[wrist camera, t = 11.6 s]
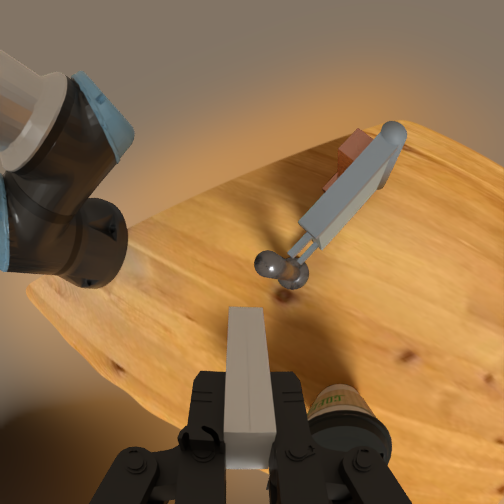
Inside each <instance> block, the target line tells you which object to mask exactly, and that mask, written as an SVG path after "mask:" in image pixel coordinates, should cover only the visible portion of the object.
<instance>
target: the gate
mask: <svg viewBox="0 0 504 504" xmlns="http://www.w3.org/2000/svg"><path fill="white" fill-rule="evenodd" d="M406 138H407V131H406V129H405V128H404V126H403V125H401V124H400V123H398V122H395V121H389V122H386V123H385V124H384V125H383V126H382V130H381V132H380V133H379V134H378V135H377V136H376V138H375V139H374V140H373V141H372V142H371V143H370V144H369V145H368V146H367V147H366V149H365V150H364V151H363V152H362V153H361V154H360V155H359V156H358V157H357V158H356V159H355V161H354V162H353V163H352V164H351V165H350V166H349V167H348V168H347V169H346V170H345V171H344V173H343V174H342V175H341V176H340V177H339V178H338V179H337V180H336V181H335V182H334V183H333V184H332V186H331V187H330V188H329V189H328V190H327V191H326V192H325V193H324V194H323V195H322V196H321V197H320V198H319V200H318V201H317V202H316V203H315V204H314V205H313V206H312V207H311V208H310V209H309V210H308V211H307V212H306V214H305V215H304V216H303V217H302V218H301V219H300V220H299V221H298V223H299V225H300V226H301V227H302V228H303V229H305V230H306V231H307V232H306V233H305V234H304V235H303V237H302V238H301V239H300V240H299V241H298V242H297V243H296V244H295V245H294V246H293V247H292V248H291V249H290V250H289V251H288V253H287V254H288V255H290V256H291V257H292V258H294V257H295V256H296V255H297V254H298V253H299V252H300V251H301V250H302V249H303V248H304V247H305V246H306V245H307V244H308V242H309V241H310V240H311V239H312V241H313V244H312V245H311V246H310V247H309V248H308V249H307V250H306V251H305V253H304V254H303V255H302V256H301V257H300V258H299V259H298V260H297V262H298V263H299V264H301V265H302V264H303V263H304V262H305V261H306V260H307V258H308V257H309V256H310V255H311V254H312V253H313V252H314V251H315V250H316V249H317V248H318V247H319V248H320V249H321V250H323V249H324V248H325V247H326V246H327V244H328V243H329V242H330V241H331V240H332V239H333V238H334V237H335V236H336V235H337V234H338V232H339V231H340V230H341V229H342V228H343V227H344V226H345V225H346V224H347V222H348V221H349V220H350V219H351V218H352V217H353V216H354V215H355V214H356V212H357V211H358V210H359V209H360V208H361V207H362V206H363V205H364V203H365V202H366V201H367V200H368V199H369V198H370V197H371V195H372V194H373V193H374V192H375V191H376V190H379V189H382V188H383V187H384V185H385V183H386V181H387V179H388V177H389V175H390V173H391V171H392V169H393V167H394V165H395V162H396V160H397V158H398V156H399V154H400V152H401V149H402V147H403V145H404V143H405V141H406Z"/></svg>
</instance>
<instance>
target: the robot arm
mask: <svg viewBox="0 0 504 504" xmlns="http://www.w3.org/2000/svg"><path fill="white" fill-rule="evenodd" d="M133 140H134V129H133V127H132V126H131V124H130V123H129V122H128V121H127V120H126V119H125V118H124V116H123V115H122V114H121V113H120V112H119V111H118V110H117V109H116V107H114V105H113V104H112V103H111V102H110V101H109V100H108V98H107V97H106V96H105V95H104V94H103V93H102V92H101V91H100V89H99V88H98V87H97V86H96V85H95V84H94V82H93V81H92V80H91V79H90V78H89V77H88V76H87V75H86V74H85V72H83V71H79V72H77V73H76V74H74V75H72V76H71V79H70V78H68V77H67V76H66V75H64V74H63V73H61V72H53V73H49V74H46V75H43V76H39V75H38V74H36V73H35V72H34V71H32V70H30V69H29V68H28V67H26V66H25V65H23V64H22V63H20V62H19V61H17V60H16V59H14V58H12V57H11V56H10V55H8V54H7V53H5V52H4V51H2V50H1V49H0V159H1V163H2V166H3V168H4V169H5V170H6V172H5V173H4V174H3V175H2V174H1V173H0V270H1V271H3V272H17V273H31V274H46V275H57V276H59V277H61V278H63V279H65V280H66V281H68V282H70V283H72V284H74V285H76V286H78V287H81V288H89V289H96V288H101V287H103V286H105V285H107V284H108V283H109V282H111V281H112V280H113V279H114V277H115V276H116V275H117V273H118V272H119V270H120V268H121V266H122V264H123V261H124V258H125V255H126V250H127V242H128V235H127V227H126V223H125V219H124V217H123V215H122V213H121V212H120V210H119V209H118V208H117V207H116V206H115V205H114V204H112V203H110V202H108V201H105V200H103V199H99V198H88V197H89V196H90V195H91V194H92V193H93V191H94V190H95V189H96V187H97V186H98V185H99V184H100V183H101V181H102V180H103V179H104V178H105V177H106V175H107V174H108V173H109V172H110V171H111V170H112V168H113V167H114V166H115V165H116V164H118V163H119V161H120V158H121V157H122V155H123V154H124V153H125V151H126V150H127V149H128V148H129V147H130V145H131V144H132V142H133ZM178 442H179V445H178V446H176V447H175V448H173V449H169V450H165V451H158V452H150V451H148V450H146V449H145V448H141V447H129V448H127V449H124V450H122V451H121V452H120V453H119V454H118V455H117V457H116V458H115V460H114V462H113V464H112V465H111V467H110V469H109V470H108V472H107V474H106V475H105V477H104V479H103V481H102V482H101V484H100V486H99V487H98V489H97V491H96V493H95V494H94V496H93V498H92V500H91V501H90V503H89V504H168V502H169V500H174V499H175V504H226V469H268V466H269V475H270V476H269V480H268V484H267V488H266V490H269V498H270V504H412V502H411V501H410V499H409V498H408V496H407V495H406V493H405V492H404V490H403V489H402V487H401V486H400V484H399V483H398V481H397V480H396V478H395V477H394V475H393V473H392V472H391V470H390V469H389V467H388V466H387V464H386V463H385V461H384V460H383V458H382V457H381V455H380V454H379V453H378V452H377V451H376V450H375V449H373V448H371V447H368V446H358V447H354V448H352V449H350V450H349V451H348V452H343V451H337V450H331V449H327V448H324V447H322V446H320V445H319V444H318V443H316V442H315V441H314V439H313V438H312V436H311V433H310V428H309V423H308V418H307V413H306V408H305V403H304V398H303V394H302V389H301V384H300V380H299V379H298V378H297V376H296V375H295V374H294V373H293V372H270V369H269V360H268V351H267V342H266V333H265V324H264V315H263V308H258V307H229V319H228V339H227V360H226V372H214V371H200V372H199V374H198V375H197V376H196V378H195V379H194V382H193V389H192V395H191V403H190V410H189V417H188V424H187V426H185V427H184V428H183V429H182V430H181V431H180V433H179V435H178Z"/></svg>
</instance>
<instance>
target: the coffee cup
mask: <svg viewBox="0 0 504 504" xmlns="http://www.w3.org/2000/svg"><path fill="white" fill-rule="evenodd" d="M307 418H308V423H309V428H310V433H311V436H312V438H313V439H314V441H315V442H316V443H318V444H319V445H320V446H322V447H324V448H327V449H331V450H337V451H343V452H348V451H349V450H350V449H352V448H354V447H358V446H368V447H371V448H373V449H375V450H376V451H377V452H378V453H379V454H380V455H381V457H382V458H383V460H384V461H385V463H386V464H387V465H388V463H389V460H390V458H391V452H392V441H391V437H390V434H389V431H388V430H387V428H386V427H385V426H384V424H383V423H381V422H380V421H379V420H378V419H377V418H376V417H375V415H374V414H373V412H372V411H371V409H370V408H369V406H368V405H367V403H366V402H365V400H364V399H363V398H362V397H361V396H360V395H359V393H358V392H357V391H356V390H355V389H354V388H353V387H351V386H349V385H345V384H335V385H331V386H329V387H327V388H325V389H324V390H323V391H321V392H320V394H319V395H318V396H317V399H316V400H315V402H314V403H313V404H312V406H311V408H310V410H309V412H308V413H307Z"/></svg>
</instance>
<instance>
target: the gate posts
mask: <svg viewBox="0 0 504 504" xmlns="http://www.w3.org/2000/svg"><path fill="white" fill-rule="evenodd" d="M373 140H374V139H372V138H371V137H370V136H368V135H367V134H366V133H364V132H363V131H362V130H360V129H359V128H358V129H356V131H355V132H354V133H353V134H352V135H351V136H350V137H349V138H348V139H347V140H346V141H345V142H344V143H343V144H342V145H341V146H340V147H339V148H338V172H337V173H336V174H335V175H334V176H333V177H332V178H331V180H330V181H329V182H328V183H327V184H326V185H325V186H324V187H323V188H322V189H323V191H325V192H326V191H327V190H328V189H329V188H330V187H331V186H332V184H333V183H334V182H335V181H336V180H337V179H338V178H339V177H340V176H341V175H342V174H343V173H344V171H345V170H346V169H347V168H348V167H349V166H350V165H351V164H352V163H353V162H354V161H355V159H356V158H357V157H358V156H359V155H360V154H361V153H362V152H363V151H364V150H365V149H366V147H367V146H368V145H369V144H370V143H371V142H372V141H373ZM298 259H299V258H296V257H294V258H292V257H290V258H287V259H284V258H283V257H281V256H280V255H278V254H276V253H275V252H273V251H269V250H266V251H263V252H261V253H259V254H258V255H257V257H256V259H255V262H254V266H255V270H256V271H257V273H258V274H259V275H261V276H263V277H267V278H273V279H278V281H279V283H280V284H281V285H282V286H283V287H285V288H287V289H291V290H294V289H299V288H301V287H302V286H304V285H305V283H306V282H307V280H308V277H309V270H308V267H307V265H306V263H305V262H304V263H303V264H302V265H301V264H299V263H298V262H297V260H298Z"/></svg>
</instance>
